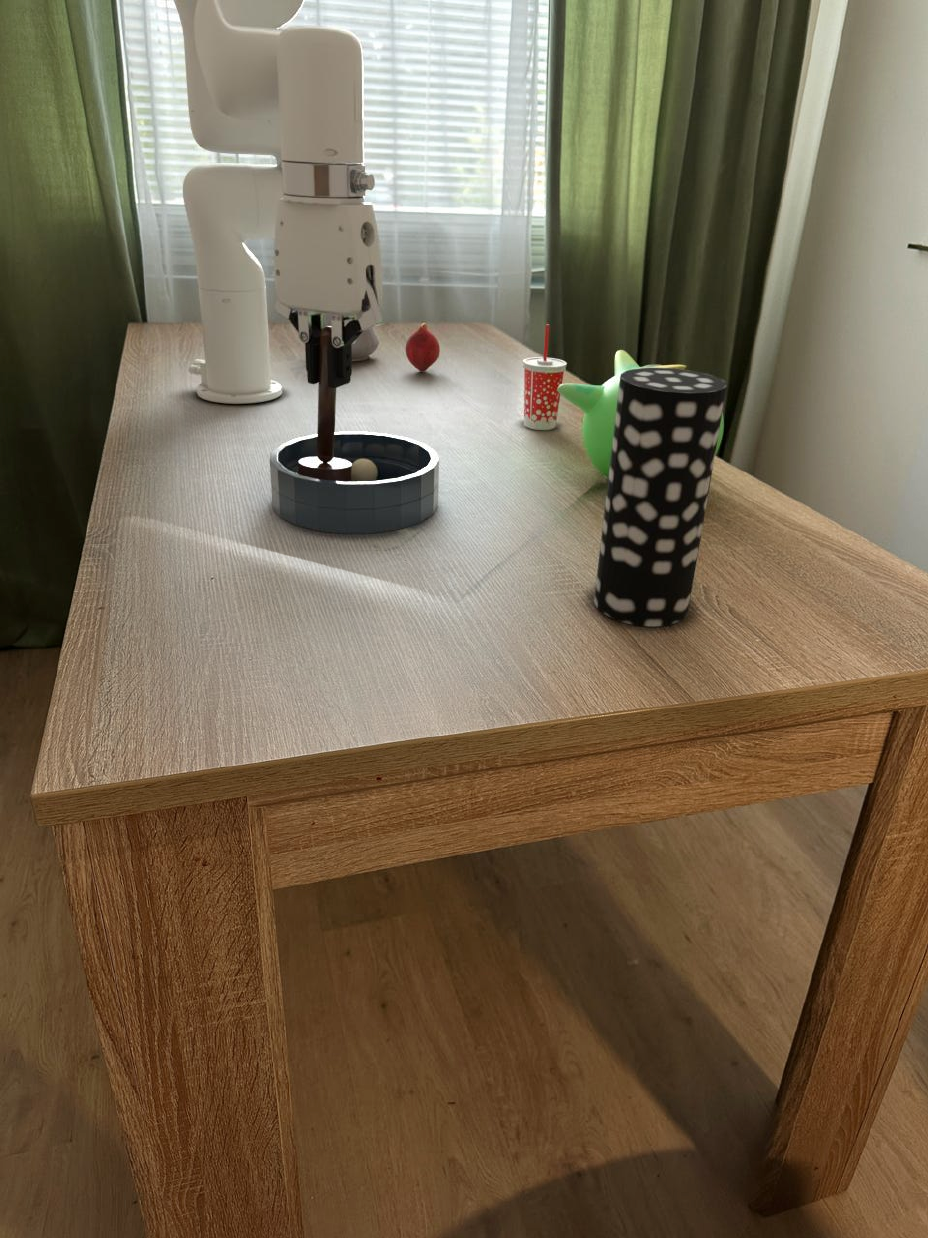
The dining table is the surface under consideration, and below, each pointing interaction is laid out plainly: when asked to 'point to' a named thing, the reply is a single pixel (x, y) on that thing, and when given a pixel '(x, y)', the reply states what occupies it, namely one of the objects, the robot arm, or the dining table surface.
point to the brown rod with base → (325, 427)
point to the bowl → (357, 485)
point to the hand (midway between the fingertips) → (329, 381)
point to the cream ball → (364, 471)
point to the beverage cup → (542, 389)
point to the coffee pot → (360, 341)
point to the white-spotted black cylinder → (657, 493)
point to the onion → (422, 348)
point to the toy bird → (606, 410)
